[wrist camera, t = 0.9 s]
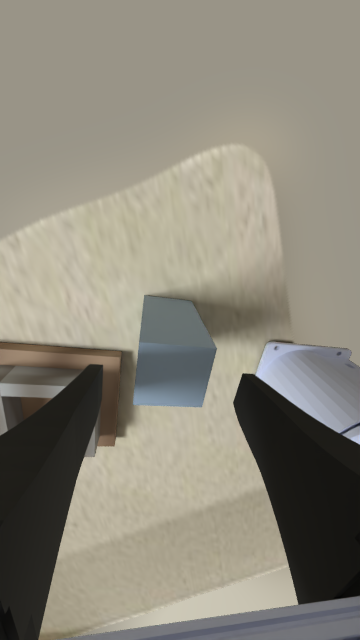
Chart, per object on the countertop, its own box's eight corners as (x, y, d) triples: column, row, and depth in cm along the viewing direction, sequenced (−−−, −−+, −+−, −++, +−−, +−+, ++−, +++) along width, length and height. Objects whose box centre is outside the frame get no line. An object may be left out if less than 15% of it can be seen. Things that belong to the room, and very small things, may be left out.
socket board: (121, 351, 20) (116, 373, 17) (115, 437, 24) (110, 467, 21) (-16, 341, 18) (-49, 363, 15) (3, 436, 22) (-20, 469, 19)
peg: (191, 300, 19) (217, 348, 11) (183, 341, 20) (201, 407, 13) (144, 295, 18) (139, 342, 11) (140, 337, 19) (132, 405, 12)
